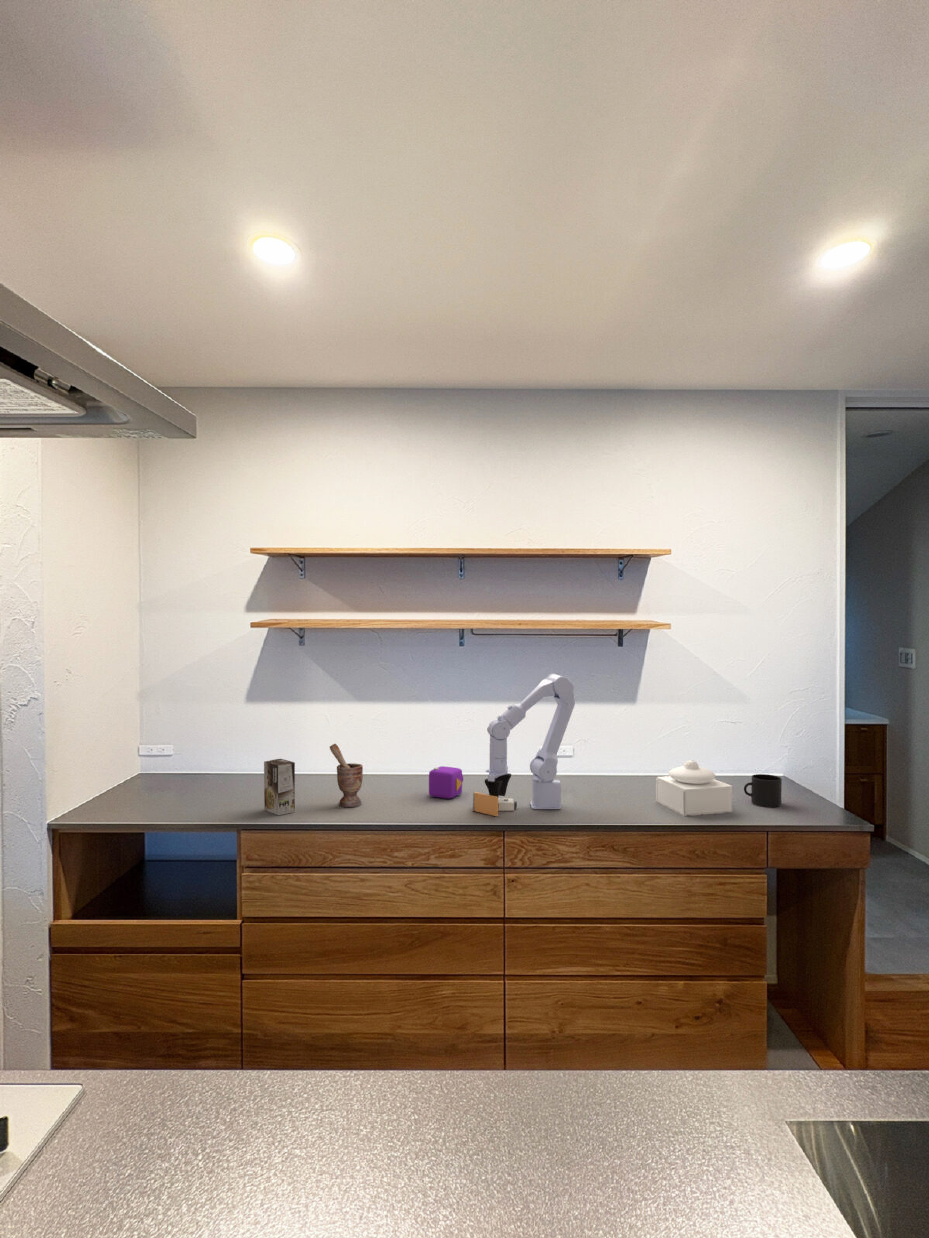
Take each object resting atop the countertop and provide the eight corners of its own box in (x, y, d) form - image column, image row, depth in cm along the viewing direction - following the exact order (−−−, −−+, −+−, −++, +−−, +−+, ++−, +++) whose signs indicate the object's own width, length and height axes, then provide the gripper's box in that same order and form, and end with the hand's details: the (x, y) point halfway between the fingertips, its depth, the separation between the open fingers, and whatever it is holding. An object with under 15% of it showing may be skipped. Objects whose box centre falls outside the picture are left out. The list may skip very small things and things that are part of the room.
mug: (740, 799, 254) (741, 773, 254) (777, 800, 252) (777, 774, 252) (746, 806, 245) (746, 779, 245) (784, 808, 243) (784, 781, 243)
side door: (472, 810, 238) (472, 792, 237) (474, 810, 238) (474, 791, 238) (496, 816, 231) (496, 797, 231) (498, 815, 232) (498, 796, 232)
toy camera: (467, 791, 263) (467, 763, 263) (456, 800, 250) (456, 771, 250) (438, 788, 266) (438, 761, 266) (426, 798, 253) (426, 769, 253)
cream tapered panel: (515, 806, 244) (515, 797, 243) (517, 810, 238) (517, 801, 238) (473, 806, 243) (473, 797, 243) (474, 810, 238) (474, 801, 238)
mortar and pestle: (325, 807, 241) (325, 747, 240) (331, 800, 250) (331, 742, 249) (359, 808, 240) (360, 747, 240) (364, 801, 249) (364, 742, 249)
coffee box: (295, 812, 236) (295, 762, 235) (277, 816, 231) (277, 765, 231) (281, 806, 242) (281, 757, 242) (263, 810, 238) (263, 760, 237)
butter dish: (701, 798, 255) (701, 753, 255) (732, 813, 237) (733, 764, 237) (655, 802, 250) (656, 755, 250) (684, 817, 233) (684, 767, 233)
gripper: (494, 752, 248) (493, 791, 248) (479, 760, 234) (478, 802, 234) (514, 753, 245) (513, 794, 245) (499, 762, 231) (499, 805, 232)
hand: (498, 798), depth 240 cm, fingers open, 7 cm apart
